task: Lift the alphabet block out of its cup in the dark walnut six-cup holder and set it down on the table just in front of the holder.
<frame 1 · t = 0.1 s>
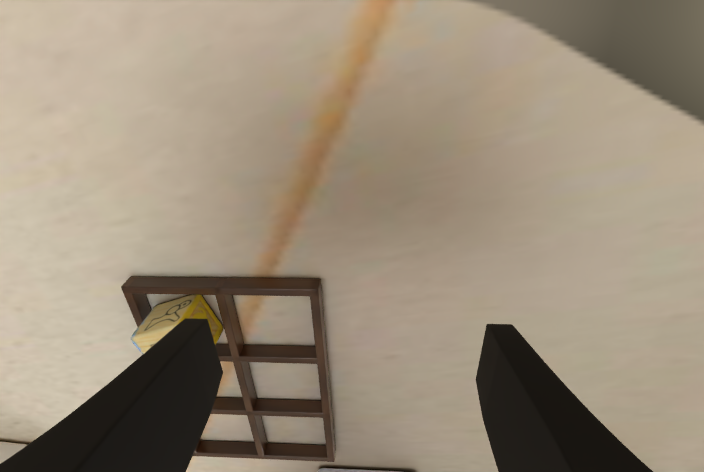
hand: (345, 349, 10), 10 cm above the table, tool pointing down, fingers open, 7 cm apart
holder: (247, 375, 26), on the table
milk carton: (48, 464, 34), on the table
alphabet block: (192, 312, 24), resting in holder
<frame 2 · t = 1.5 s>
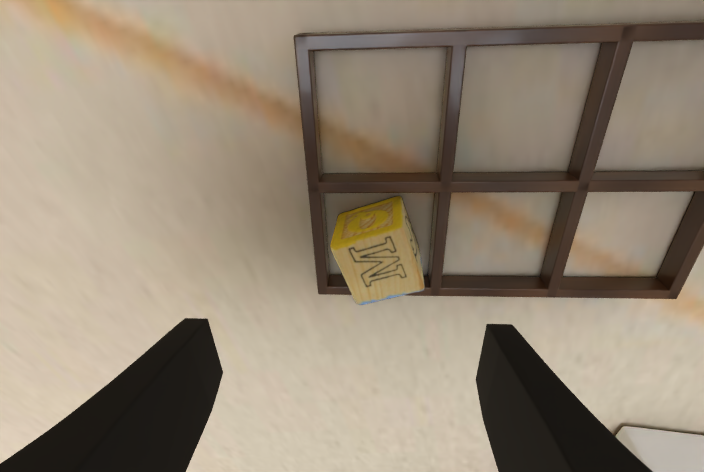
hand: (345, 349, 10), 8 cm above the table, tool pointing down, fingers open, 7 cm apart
holder: (506, 177, 16), on the table
milk carton: (647, 459, 25), on the table
alphabet block: (378, 230, 18), resting in holder
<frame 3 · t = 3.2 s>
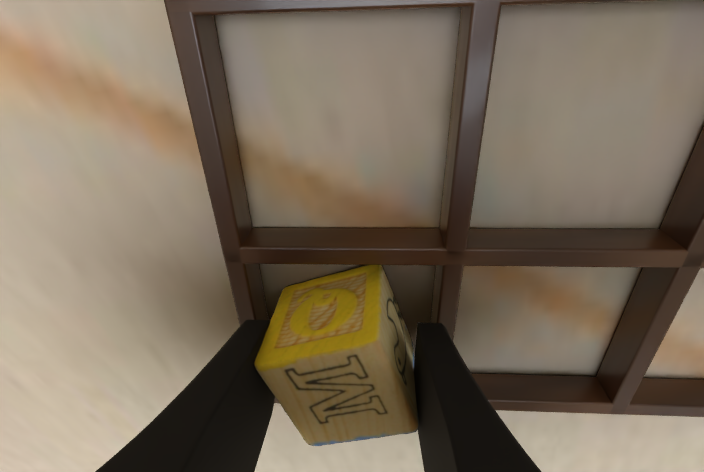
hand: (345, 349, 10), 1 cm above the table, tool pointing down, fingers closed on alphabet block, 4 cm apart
holder: (554, 236, 10), on the table
alphabet block: (348, 308, 12), resting in holder, touching gripper
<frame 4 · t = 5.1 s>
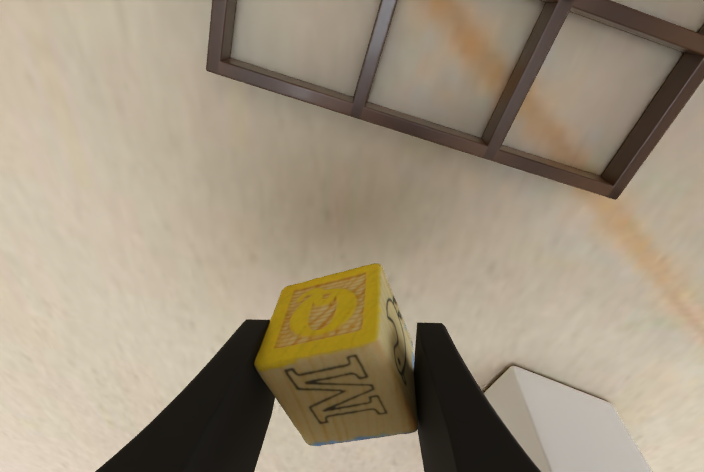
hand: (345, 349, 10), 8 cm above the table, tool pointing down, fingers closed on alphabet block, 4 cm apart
milk carton: (522, 413, 24), on the table
alphabet block: (348, 308, 12), point 7 cm above the table, touching gripper
when the fingers open (1 cm above the table, at t = 7.2 s): alphabet block stays where it is, on the table.
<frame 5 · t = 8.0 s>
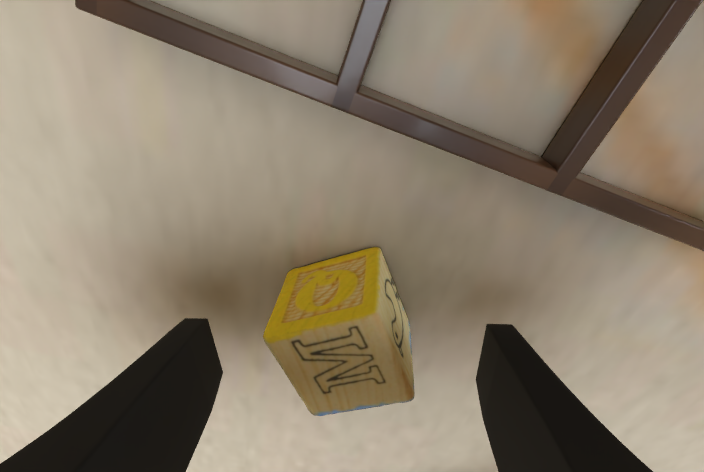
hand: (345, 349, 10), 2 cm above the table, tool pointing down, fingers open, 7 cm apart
alphabet block: (349, 291, 12), on the table
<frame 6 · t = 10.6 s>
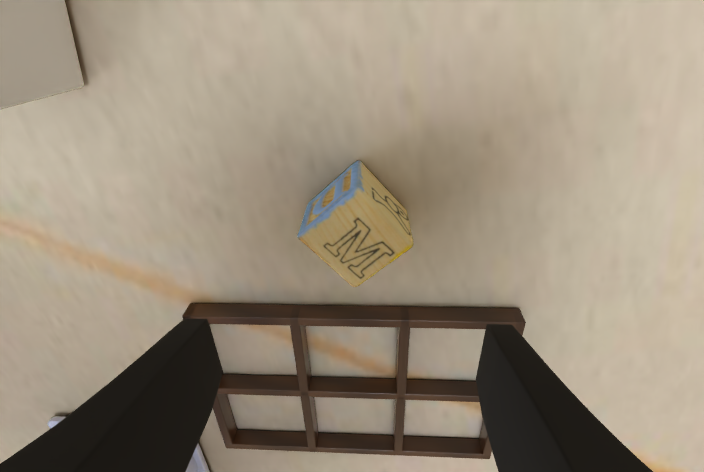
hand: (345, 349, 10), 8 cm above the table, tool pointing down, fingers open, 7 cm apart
holder: (353, 380, 22), on the table
alphabet block: (358, 203, 17), on the table
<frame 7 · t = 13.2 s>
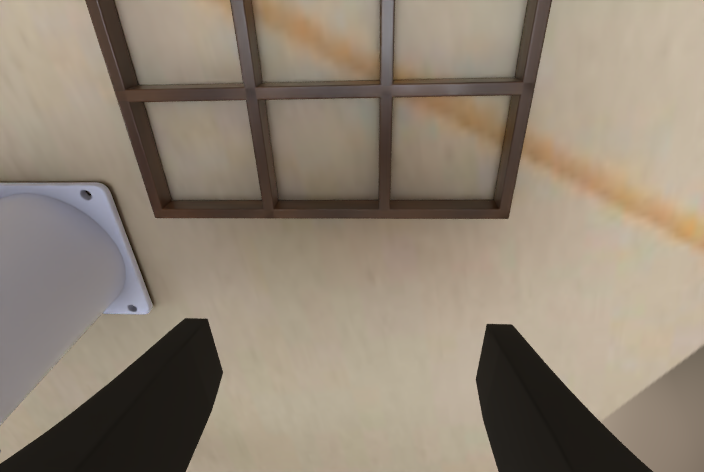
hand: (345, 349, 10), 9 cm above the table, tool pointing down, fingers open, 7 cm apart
holder: (321, 87, 16), on the table
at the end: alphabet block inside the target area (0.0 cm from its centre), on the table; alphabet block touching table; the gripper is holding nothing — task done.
